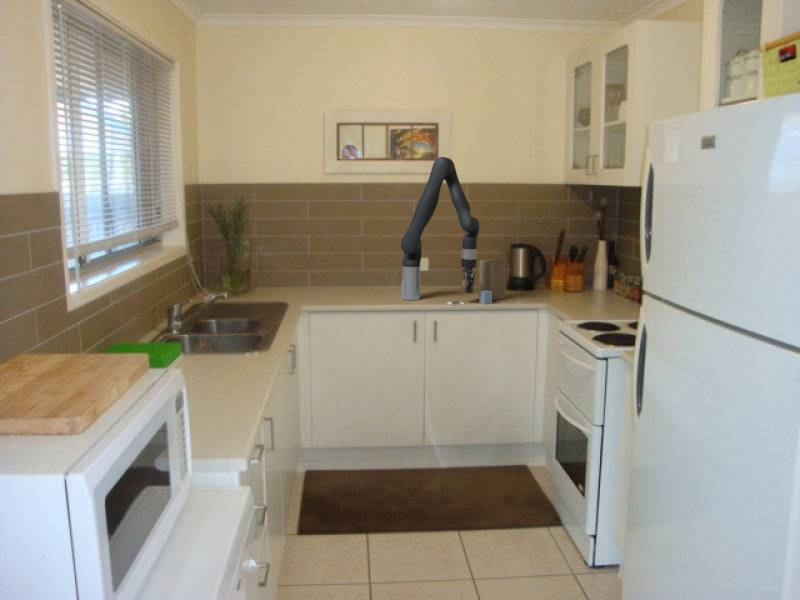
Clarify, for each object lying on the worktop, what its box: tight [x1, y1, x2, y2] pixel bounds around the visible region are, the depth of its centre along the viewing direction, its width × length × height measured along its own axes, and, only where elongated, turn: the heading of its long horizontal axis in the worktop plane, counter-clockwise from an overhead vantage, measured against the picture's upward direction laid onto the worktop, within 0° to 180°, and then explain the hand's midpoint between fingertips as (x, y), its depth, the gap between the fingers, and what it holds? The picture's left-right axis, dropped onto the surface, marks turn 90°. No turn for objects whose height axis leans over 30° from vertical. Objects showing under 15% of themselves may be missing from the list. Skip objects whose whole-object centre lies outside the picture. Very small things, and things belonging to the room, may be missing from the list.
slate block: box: [479, 290, 493, 305], centre depth 353 cm, size 4×4×6 cm
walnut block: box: [461, 279, 475, 294], centre depth 354 cm, size 4×4×6 cm
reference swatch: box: [446, 300, 465, 306], centre depth 353 cm, size 7×7×1 cm
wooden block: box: [478, 258, 507, 301], centre depth 364 cm, size 10×10×20 cm
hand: (467, 291), depth 354 cm, fingers closed on walnut block, 4 cm apart
